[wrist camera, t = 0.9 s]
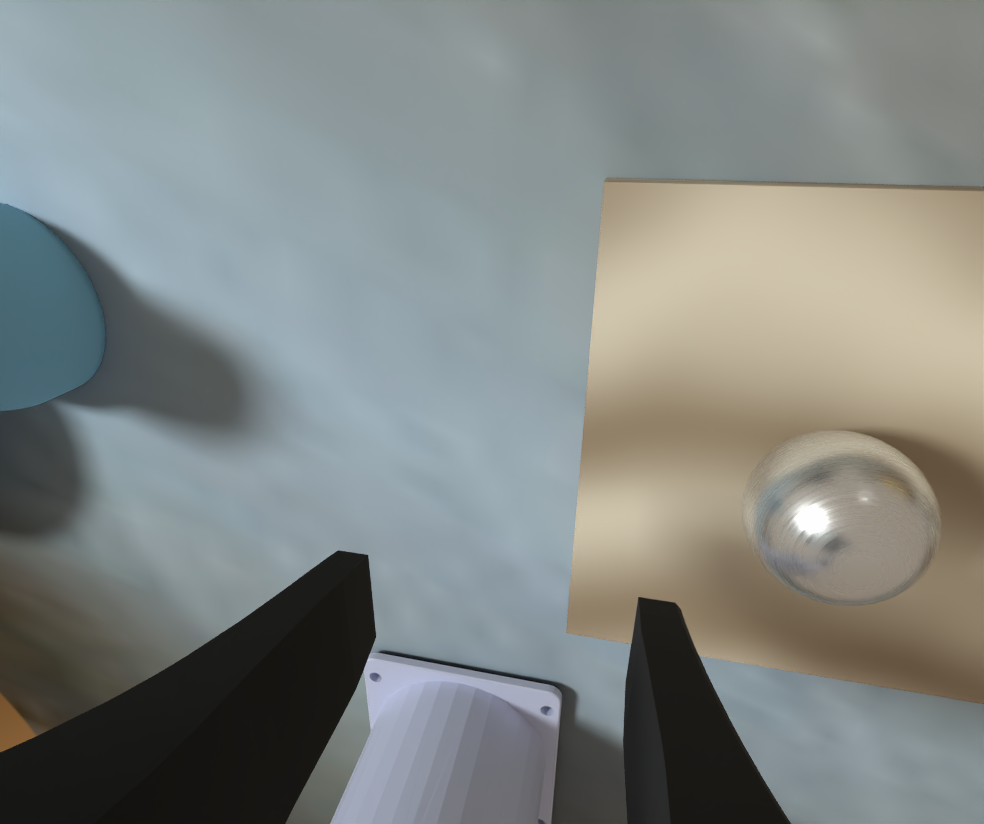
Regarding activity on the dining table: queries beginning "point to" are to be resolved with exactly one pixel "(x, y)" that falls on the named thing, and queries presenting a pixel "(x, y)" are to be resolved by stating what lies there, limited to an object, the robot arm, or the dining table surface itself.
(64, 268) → the light blue lumpy shape
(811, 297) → the ash board
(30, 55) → the dining table surface
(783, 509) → the steel ball
